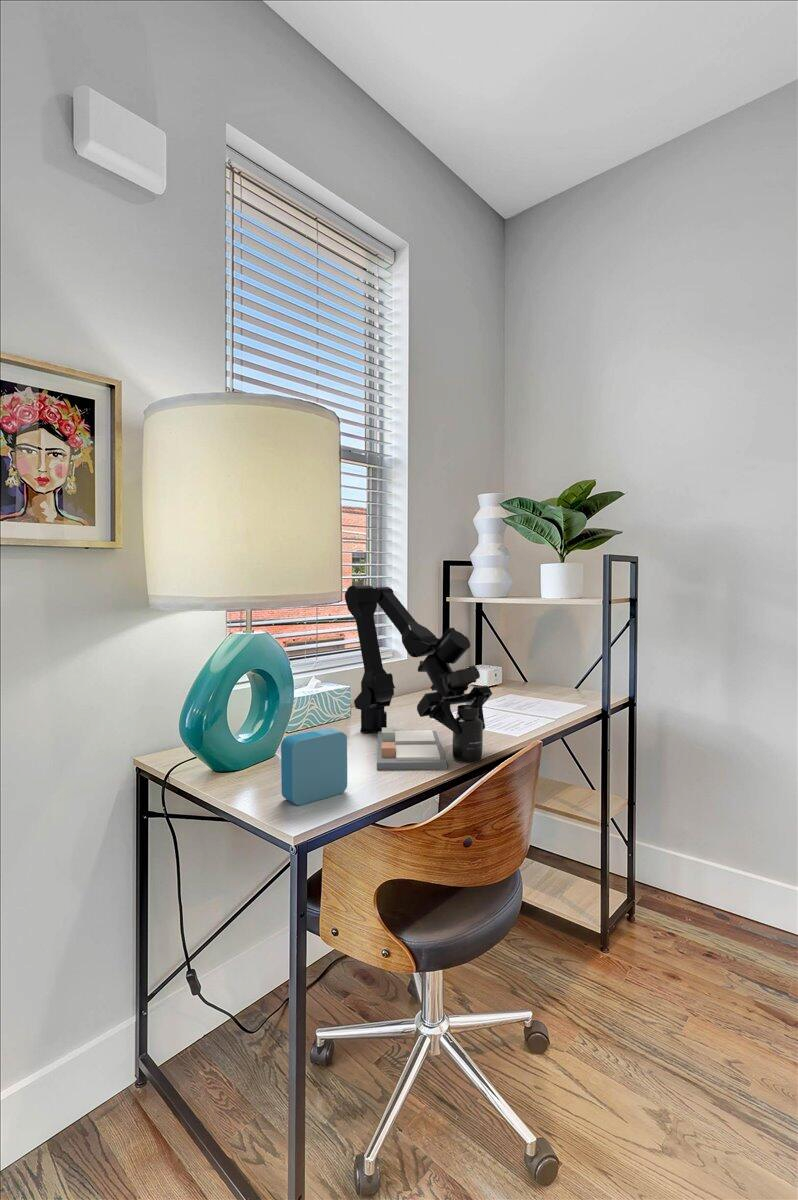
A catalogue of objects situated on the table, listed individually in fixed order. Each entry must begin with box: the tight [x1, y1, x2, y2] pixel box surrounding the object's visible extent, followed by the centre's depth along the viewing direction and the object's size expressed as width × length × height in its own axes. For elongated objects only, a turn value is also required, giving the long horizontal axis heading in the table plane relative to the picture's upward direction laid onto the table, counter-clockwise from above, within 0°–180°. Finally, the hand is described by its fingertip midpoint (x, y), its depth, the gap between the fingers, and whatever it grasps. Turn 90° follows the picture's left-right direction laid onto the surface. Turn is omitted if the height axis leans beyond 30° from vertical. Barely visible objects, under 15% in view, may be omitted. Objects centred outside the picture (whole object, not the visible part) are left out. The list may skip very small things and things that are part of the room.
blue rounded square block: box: [280, 727, 348, 806], centre depth 114 cm, size 12×4×12 cm, turn 130°
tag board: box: [376, 727, 448, 771], centre depth 143 cm, size 15×26×4 cm, turn 1°
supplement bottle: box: [451, 704, 484, 764], centre depth 137 cm, size 7×7×12 cm
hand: (471, 731), depth 136 cm, fingers closed on supplement bottle, 7 cm apart
